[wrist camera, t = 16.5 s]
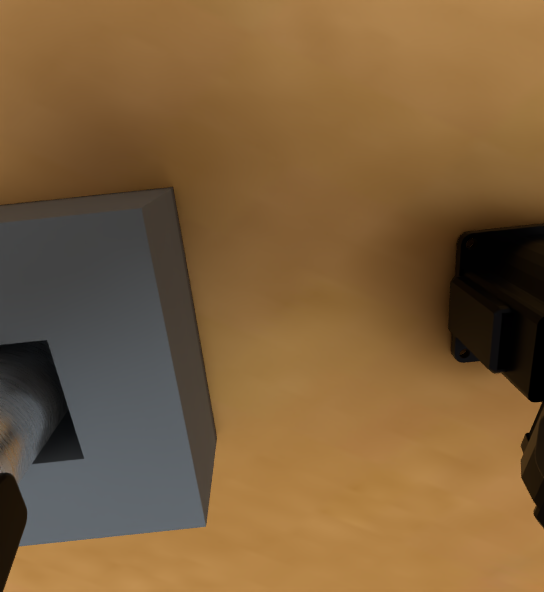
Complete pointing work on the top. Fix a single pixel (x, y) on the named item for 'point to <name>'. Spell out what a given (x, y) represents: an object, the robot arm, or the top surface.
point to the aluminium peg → (27, 404)
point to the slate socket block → (110, 364)
